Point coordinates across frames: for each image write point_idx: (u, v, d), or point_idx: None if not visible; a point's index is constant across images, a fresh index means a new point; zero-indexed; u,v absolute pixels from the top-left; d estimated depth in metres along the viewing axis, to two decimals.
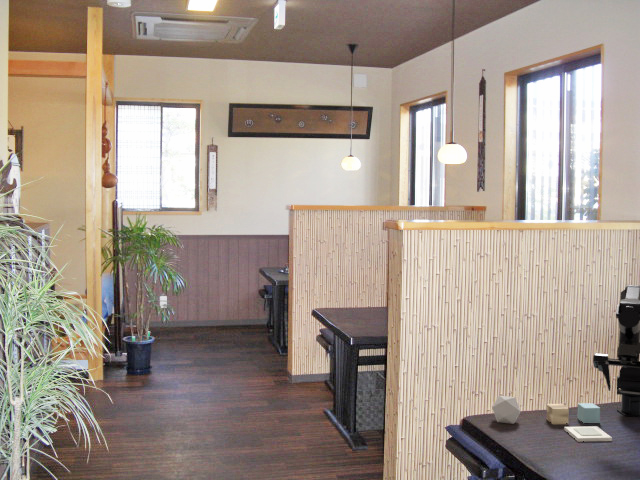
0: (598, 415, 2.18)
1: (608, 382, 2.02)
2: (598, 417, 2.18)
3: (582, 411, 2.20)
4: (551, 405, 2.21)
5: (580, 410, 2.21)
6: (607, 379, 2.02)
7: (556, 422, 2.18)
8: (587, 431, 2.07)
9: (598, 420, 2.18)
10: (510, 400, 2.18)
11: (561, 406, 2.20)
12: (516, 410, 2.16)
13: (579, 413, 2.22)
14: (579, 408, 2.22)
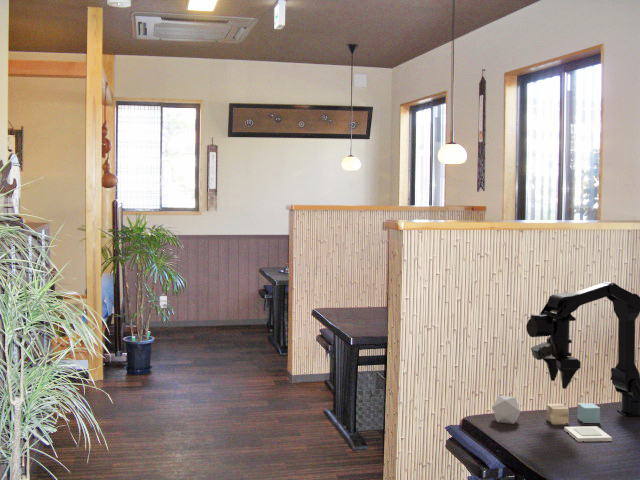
0: (598, 415, 2.18)
1: (549, 374, 2.24)
2: (598, 417, 2.18)
3: (582, 411, 2.20)
4: (551, 405, 2.21)
5: (580, 410, 2.21)
6: (549, 371, 2.24)
7: (556, 422, 2.18)
8: (587, 431, 2.07)
9: (598, 420, 2.18)
10: (510, 400, 2.18)
11: (561, 406, 2.20)
12: (516, 410, 2.16)
13: (579, 413, 2.22)
14: (579, 408, 2.22)
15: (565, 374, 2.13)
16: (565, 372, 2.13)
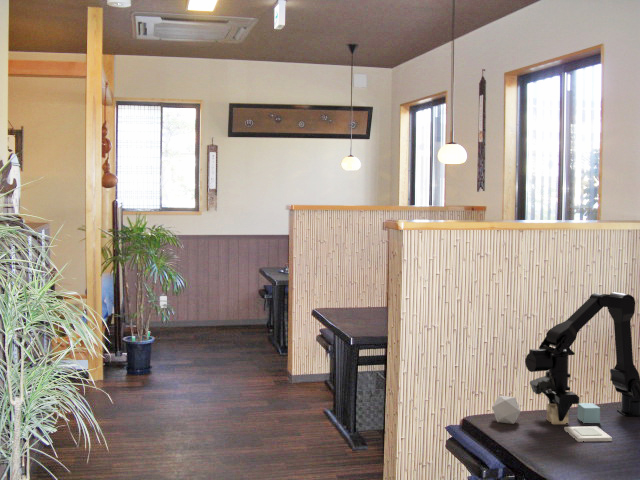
0: (598, 415, 2.18)
1: None
2: (598, 417, 2.18)
3: (582, 411, 2.20)
4: (551, 405, 2.21)
5: (580, 410, 2.21)
6: None
7: (556, 422, 2.18)
8: (587, 431, 2.07)
9: (598, 420, 2.18)
10: (510, 400, 2.18)
11: None
12: (516, 410, 2.16)
13: (579, 413, 2.22)
14: (579, 408, 2.22)
15: (561, 407, 2.16)
16: (561, 405, 2.16)
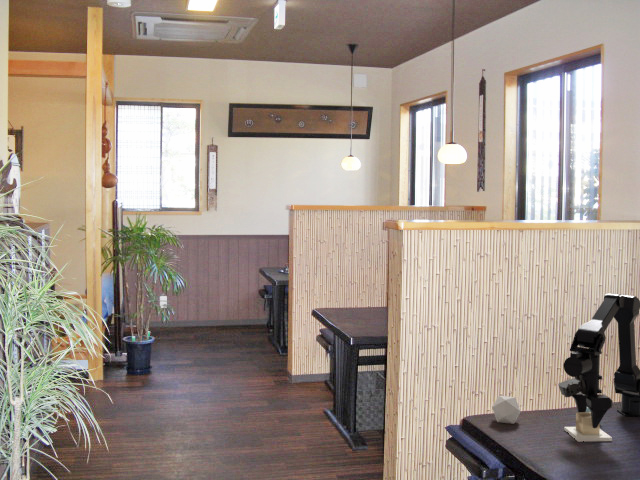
0: None
1: (578, 410, 2.12)
2: None
3: None
4: (581, 413, 2.08)
5: None
6: (577, 408, 2.12)
7: (586, 432, 2.05)
8: None
9: None
10: (510, 400, 2.18)
11: None
12: (516, 410, 2.16)
13: None
14: None
15: (596, 413, 2.01)
16: (596, 411, 2.01)
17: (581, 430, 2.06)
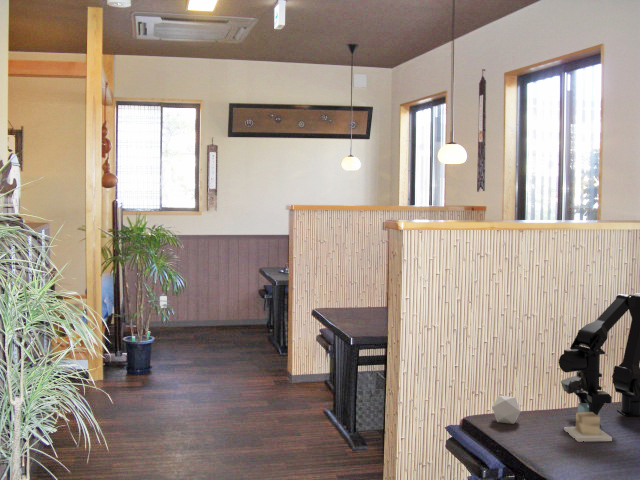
0: (598, 415, 2.18)
1: None
2: None
3: (582, 411, 2.20)
4: (581, 413, 2.08)
5: (580, 410, 2.21)
6: None
7: (586, 432, 2.05)
8: None
9: None
10: (510, 400, 2.18)
11: (592, 415, 2.07)
12: (516, 410, 2.16)
13: None
14: (579, 408, 2.22)
15: (593, 406, 2.17)
16: (593, 404, 2.17)
17: (581, 430, 2.06)
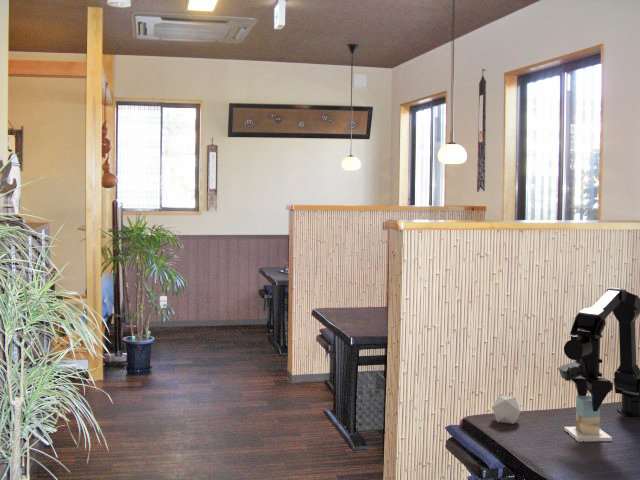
0: None
1: (578, 395, 2.12)
2: (598, 410, 2.05)
3: (580, 404, 2.06)
4: None
5: (579, 403, 2.07)
6: (577, 392, 2.12)
7: (586, 432, 2.05)
8: None
9: (598, 413, 2.05)
10: (510, 400, 2.18)
11: None
12: (516, 410, 2.16)
13: (578, 406, 2.08)
14: (578, 401, 2.08)
15: (596, 396, 2.01)
16: (596, 394, 2.01)
17: (581, 430, 2.06)
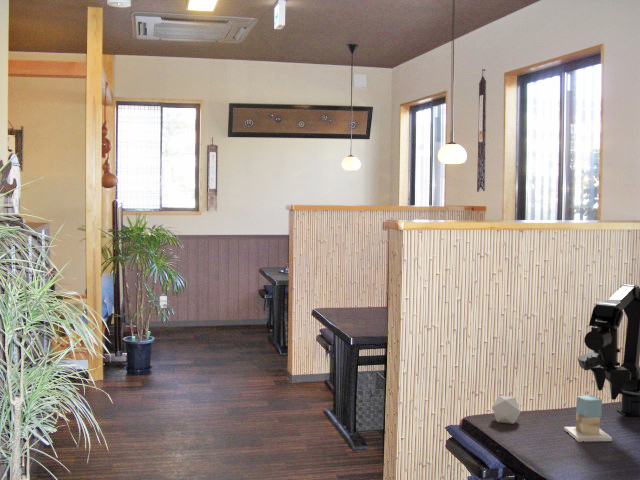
0: (600, 408, 2.05)
1: (596, 383, 2.17)
2: (600, 409, 2.05)
3: (583, 404, 2.06)
4: None
5: (580, 403, 2.07)
6: (595, 380, 2.18)
7: (586, 432, 2.05)
8: None
9: (600, 413, 2.05)
10: (510, 400, 2.18)
11: None
12: (516, 410, 2.16)
13: (579, 406, 2.08)
14: (579, 401, 2.08)
15: (614, 385, 2.07)
16: (614, 383, 2.07)
17: (581, 430, 2.06)
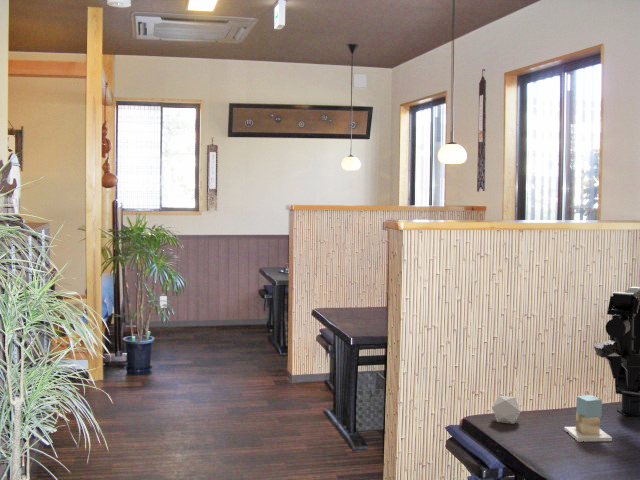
0: (600, 408, 2.05)
1: None
2: (600, 409, 2.05)
3: (583, 404, 2.06)
4: None
5: (580, 403, 2.07)
6: (611, 369, 2.22)
7: (586, 432, 2.05)
8: None
9: (600, 413, 2.05)
10: (510, 400, 2.18)
11: None
12: (516, 410, 2.16)
13: (579, 406, 2.08)
14: (579, 401, 2.08)
15: (630, 372, 2.11)
16: (630, 370, 2.11)
17: (581, 430, 2.06)
